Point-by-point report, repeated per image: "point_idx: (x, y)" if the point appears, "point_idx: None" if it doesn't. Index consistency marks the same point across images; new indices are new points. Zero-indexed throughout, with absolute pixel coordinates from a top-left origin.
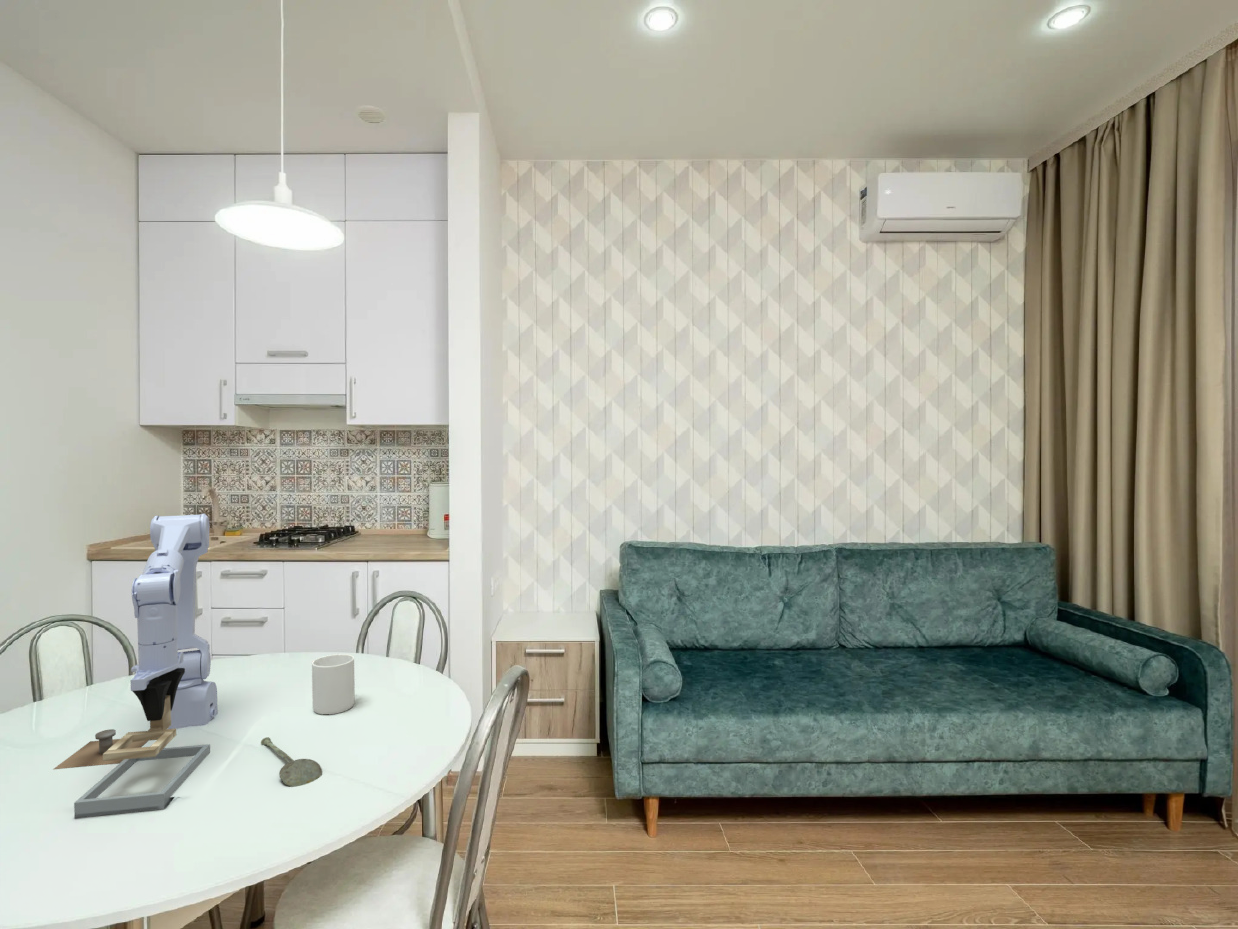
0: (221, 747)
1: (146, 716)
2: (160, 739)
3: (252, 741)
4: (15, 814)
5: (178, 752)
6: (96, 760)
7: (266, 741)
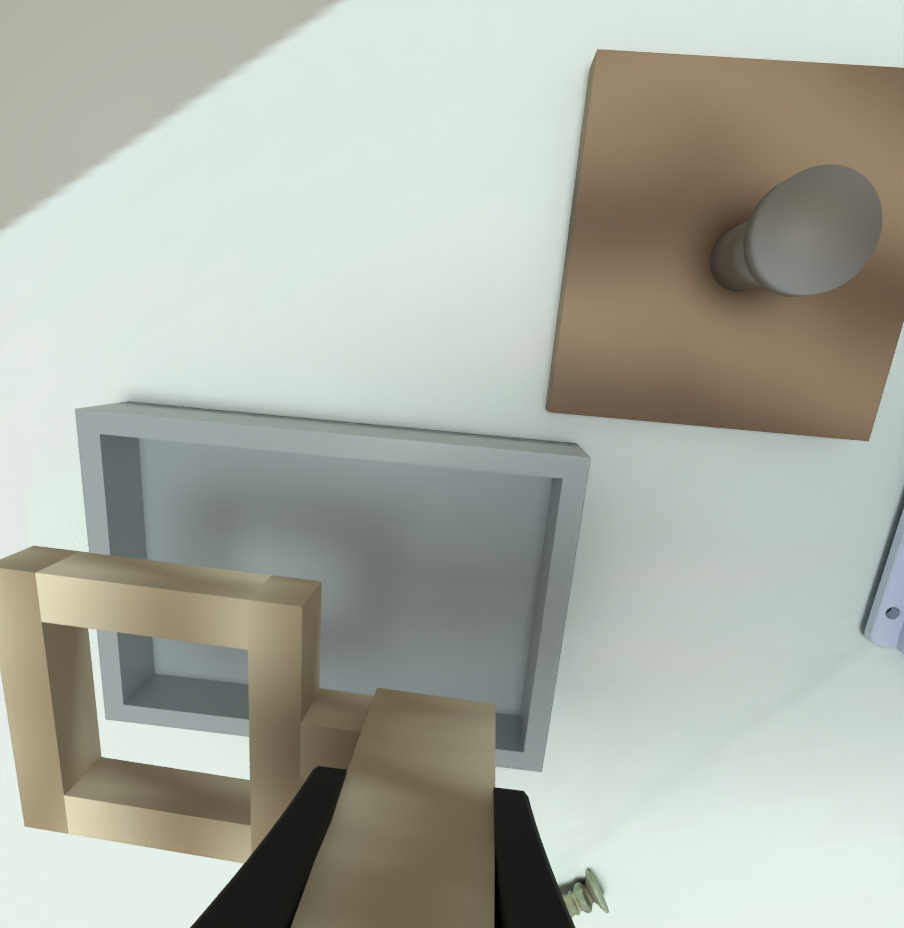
0: (625, 741)
1: (294, 801)
2: (151, 825)
3: (640, 836)
4: (201, 119)
5: (535, 646)
6: (633, 257)
7: (571, 908)
